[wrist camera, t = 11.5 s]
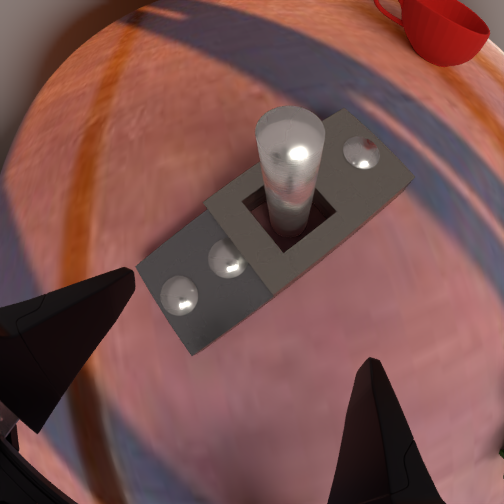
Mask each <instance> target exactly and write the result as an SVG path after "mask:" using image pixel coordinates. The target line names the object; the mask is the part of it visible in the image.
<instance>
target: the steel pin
mask: <svg viewBox="0 0 504 504" xmlns="http://www.w3.org/2000/svg"><path fill="white" fill-rule="evenodd" d="M255 135H256V141H257V146H258V152H259V158H260V163H261V169H262V175H263V181H264V187H265V193H266V199H267V205H268V211H269V217H270V223H271V226H272V228H273V230H274V231H275V232H276V233H277V234H279V235H280V236H283V237H295V236H298V235H299V234H301V233H302V232H303V231H304V230H305V228H306V226H307V222H308V218H309V213H310V209H311V204H312V200H313V195H314V190H315V185H316V181H317V176H318V171H319V166H320V161H321V156H322V151H323V145H324V140H325V129H324V126H323V123H322V122H321V120H320V119H319V118H318V117H317V116H316V115H315V114H314V113H312V112H311V111H309V110H307V109H304V108H301V107H297V106H282V107H277V108H274V109H272V110H270V111H268V112H267V113H265V114H264V115H263V116H262V117H261V118H260V119H259V121H258V123H257V125H256V130H255Z"/></svg>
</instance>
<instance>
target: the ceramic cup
mask: <svg viewBox="0 0 504 504" xmlns="http://www.w3.org/2000/svg"><path fill="white" fill-rule="evenodd" d="M398 1H399V3H400V5H401V9H402V20H401V19H399V18H397V17H395V16H394V15H392V14H390V13H389V12H388V11H386V10H385V9H384V8H383V7H382V6H381V4H380V3H379V1H378V0H374V3H375V5H376V7H377V8H378V9H379V10H380V11H381V12H382V13H383V14H384V15H385V16H387V17H388V18H390V19H391V20H393V21H394V22H396V23H397V24H399V25H401V26H402V27H404V30H405V33H406V35H407V38H408V39H409V41H410V43H411V45H412V47H413V49H414V50H415V52H416V53H417V54H418V55H420V56H421V57H422V58H424V59H425V60H427V61H428V62H430V63H432V64H435V65H437V66H441V67H448V66H455V65H460V64H463V63H465V62H467V61H469V60H471V59H472V58H473V57H474V56H475V55H476V54H477V53H478V52H479V51H480V50H481V48H482V47H483V45H484V44H485V42H486V41H487V39H488V38H489V35H490V30H489V28H488V26H487V25H486V24H485V22H484V21H483V20H482V19H481V18H480V17H479V16H478V15H477V14H475V13H474V12H473V11H472V10H471V9H469V8H468V7H466V6H465V5H464V4H462V3H460V2H459V1H457V0H398Z"/></svg>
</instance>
